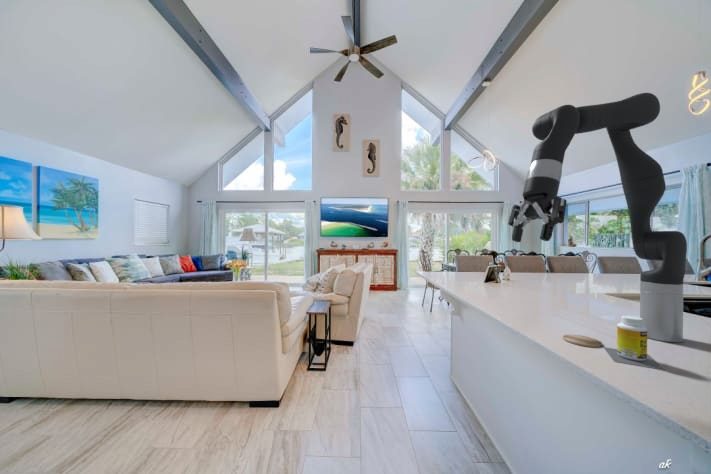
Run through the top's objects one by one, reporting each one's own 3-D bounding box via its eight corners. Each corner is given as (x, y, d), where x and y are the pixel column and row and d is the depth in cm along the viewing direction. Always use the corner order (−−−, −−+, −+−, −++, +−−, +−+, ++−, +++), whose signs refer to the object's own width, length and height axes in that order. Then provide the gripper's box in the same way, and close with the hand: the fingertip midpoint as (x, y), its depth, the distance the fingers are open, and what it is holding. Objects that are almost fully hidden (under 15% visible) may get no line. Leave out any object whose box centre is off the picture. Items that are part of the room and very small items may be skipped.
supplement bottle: (643, 363, 70) (644, 321, 70) (613, 355, 75) (614, 316, 75) (649, 358, 73) (650, 318, 73) (620, 351, 78) (621, 313, 78)
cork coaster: (561, 334, 91) (561, 332, 91) (598, 339, 87) (598, 337, 87) (565, 343, 84) (565, 341, 84) (605, 349, 79) (605, 347, 79)
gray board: (603, 348, 81) (603, 346, 81) (647, 355, 76) (647, 353, 76) (614, 362, 71) (614, 361, 71) (665, 371, 67) (665, 369, 67)
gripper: (581, 179, 68) (567, 244, 67) (530, 191, 82) (518, 245, 80) (556, 168, 67) (542, 235, 65) (509, 182, 80) (496, 237, 79)
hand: (529, 240), depth 73 cm, fingers open, 8 cm apart
